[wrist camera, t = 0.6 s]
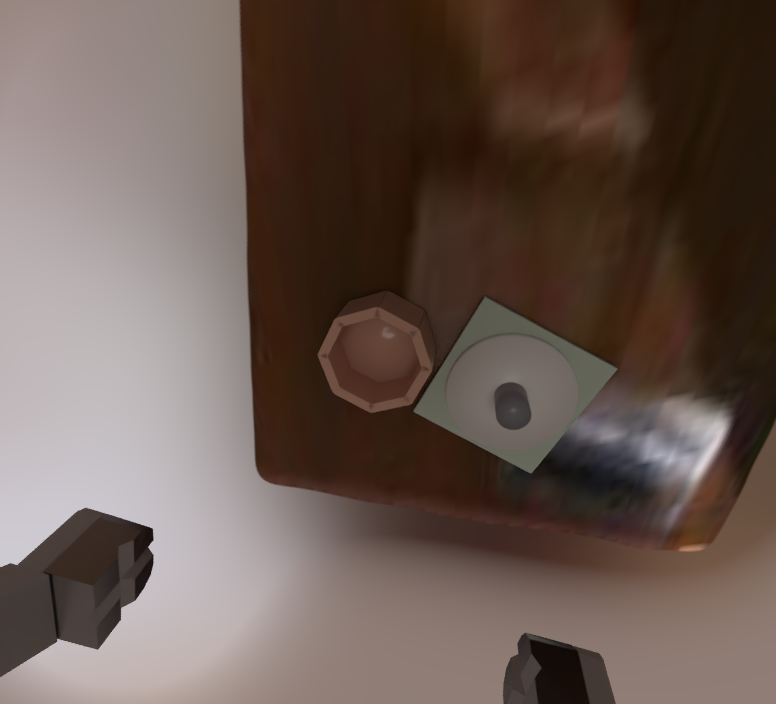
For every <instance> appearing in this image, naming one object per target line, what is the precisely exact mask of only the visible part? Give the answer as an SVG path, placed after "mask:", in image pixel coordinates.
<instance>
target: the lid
mask: <svg viewBox="0 0 776 704" xmlns="http://www.w3.org/2000/svg"><path fill="white" fill-rule="evenodd" d="M577 400H578V385H577V381H576V377H575V374H574V372H573V370H572V368H571V366H570V364H569V362H568V361H567V359H566V358H565V356H564V355H563V354H562V353H561V352H560V351H559V350H558V349H557V348H556V347H554V346H553V345H552V344H550V343H548V342H547V341H545V340H543V339H540V338H538V337H535V336H532V335H528V334H523V333H502V334H496V335H492V336H489V337H486V338H484V339H482V340H479V341H477V342H476V343H474V344H472V345H471V346H470V347H468V348H467V349H466V350H465V351H464V352H463V353H462V354H461V355H460V356H459V357H458V358H457V360H456V361H455V363H454V364H453V366H452V368H451V370H450V373H449V376H448V380H447V388H446V401H447V406H448V410H449V412H450V415H451V417H452V419H453V421H454V422H455V424H456V425H457V426H458V428H459V429H460V430H461V431H462V432H463V433H464V434H465V435H467V436H468V437H469V438H471V439H472V440H474V441H476V442H477V443H479V444H482V445H484V446H487V447H490V448H494V449H499V450H508V451H511V450H524V449H528V448H533V447H535V446H538V445H541V444H543V443H545V442H547V441H549V440H550V439H552V438H553V437H555V436H556V435H557V434H558V433H560V432H561V431H562V430H563V429H564V428H565V426H566V425H567V424H568V422H569V421H570V420H571V418H572V416H573V414H574V411H575V409H576V406H577Z"/></svg>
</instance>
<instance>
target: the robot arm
mask: <svg viewBox="0 0 776 704" xmlns="http://www.w3.org/2000/svg"><path fill="white" fill-rule="evenodd" d="M152 541H153V529H152V528H150V527H147V526H144V525H140V524H137V523H134V522H131V521H128V520H124V519H121V518H118V517H115V516H112V515H108V514H105V513H101V512H98V511H95V510H92V509H88V508H84V509H82V510H80V511H78V512H76V513H75V514H74V515H73V516H71V518H69V519H68V520H67V521H66V522H65V523H64V524H63V525H61V526H60V527H59V528H58V529H57V530H56V531H55V532H54V533H53V534H52V535H50V536H49V537H48V538H47V539H46V540H45V541H44V542H43V543H41V544H40V545H39V546H38V547H37V548H36V549H35V550H34V551H32V552H31V553H30V554H29V555H28V556H27V557H26V558H25V559H24V560H22V561H21V562H20V563H19V564H18V565H15V564H11V563H10V564H8V565H5V566H3V567H0V677H1V676H3V675H4V674H6V673H7V672H9V671H11V670H12V669H14V668H16V667H17V666H19V665H20V664H22V663H24V662H25V661H27V660H28V659H30V658H32V657H33V656H35V655H36V654H38V653H40V652H41V651H43V650H45V649H46V648H48V647H49V646H51V645H52V644H54V643H56V642H57V639H60V640H64V641H68V642H72V643H75V644H79V645H83V646H86V647H91V648H94V649H99V648H100V646H101V645H102V644H103V642H104V641H105V640H106V638H107V637H108V636H109V634H110V633H111V632H112V630H113V629H114V628H115V626H116V625H117V624H118V623H119V621H120V620H121V607H124V606H126V605H127V604H129V603H131V602H133V601H135V600H136V599H137V597H138V596H139V594H140V593H141V592H142V590H143V589H144V587H145V585H146V583H147V581H148V579H149V577H150V575H151V571H152V567H153V554H152V552H151V551H150V550H149V548H148V546H149V545H150V543H151V542H152ZM503 699H504V704H616V703H615V700H614V696H613V693H612V689H611V686H610V682H609V678H608V675H607V671H606V667H605V664H604V660H603V658H602V657H601V655H600V654H599V653H596V652H592V651H589V650H585V649H582V648H578V647H575V646H572V645H569V644H565V643H562V642H558V641H555V640H551V639H547V638H543V637H540V636H536V635H532V634H528V633H524V634H523V635H522V636H521V638H520V640H519V642H518V655H516V656H513V657H511V659H510V661H509V663H508V666H507V668H506V673H505V678H504V688H503Z"/></svg>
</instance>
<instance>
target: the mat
mask: <svg viewBox="0 0 776 704" xmlns="http://www.w3.org/2000/svg"><path fill="white" fill-rule="evenodd" d="M502 333H523V334H528V335H532V336H535V337H538V338H540V339H543V340H545V341H547V342H548V343H550V344H552V345H553V346H554V347H556V348H557V349H558V350H559V351H560V352H561V353H562V354H563V355H564V356H565V358H566V359H567V361H568V362H569V364H570V366H571V368H572V370H573V372H574V374H575V377H576V381H577V385H578V400H577V406H576V409H575V411H574V414H573V416H572V418H571V420H570V421H569V422H568V424H567V425H566V426H565V428H564V429H563V430H562V431H561V432H560V433H558V434H557V435H556V436H555V437H553V438H552V439H550V440H549V441H547V442H545V443H543V444H541V445H538V446H535V447H533V448H528V449H524V450H511V451H508V450H499V449H494V448H490V447H487V446H484V445H482V444H479V443H477V442H476V441H474V440H472V439H471V438H469V437H468V436H467V435H465V434H464V433H463V432H462V431H461V430H460V429H459V428H458V426H457V425H456V424H455V422H454V421H453V419H452V417H451V415H450V412H449V410H448V406H447V401H446V388H447V380H448V376H449V373H450V370H451V368H452V366H453V364H454V363H455V361H456V360H457V358H458V357H459V356H460V355H461V354H462V353H463V352H464V351H465V350H466V349H467V348H468V347H470V346H471V345H472V344H474V343H476V342H477V341H479V340H482V339H484V338H486V337H489V336H492V335H496V334H502ZM616 370H617V368H616V367H615V366H614V365H612V364H610V363H608V362H606V361H604V360H603V359H601V358H599V357H597V356H595V355H593V354H592V353H590V352H588V351H586V350H584V349H582V348H580V347H579V346H577V345H575V344H573V343H571V342H569V341H568V340H566V339H564V338H562V337H560V336H558V335H556V334H555V333H553V332H551V331H549V330H547V329H545V328H544V327H542V326H540V325H538V324H536V323H534V322H533V321H531V320H529V319H527V318H525V317H523V316H521V315H520V314H518V313H516V312H514V311H512V310H510V309H509V308H507V307H505V306H503V305H501V304H499V303H497V302H496V301H494V300H492V299H490V298H488V297H486V296H484V298H483V299H482V301H481V302H480V304H479V306H478V307H477V309H476V310H475V312H474V314H473V315H472V317H471V318H470V320H469V322H468V323H467V325H466V326H465V328H464V330H463V331H462V333H461V334H460V336H459V338H458V339H457V341H456V342H455V344H454V346H453V347H452V349H451V350H450V352H449V354H448V355H447V357H446V358H445V360H444V362H443V363H442V365H441V366H440V368H439V370H438V371H437V373H436V374H435V376H434V378H433V379H432V381H431V382H430V384H429V386H428V387H427V389H426V390H425V392H424V394H423V395H422V397H421V398H420V400H419V402H418V403H417V405H416V406H415V408H414V410H413V412H415V413H417V414H419V415H421V416H422V417H424V418H426V419H428V420H430V421H432V422H434V423H436V424H438V425H440V426H441V427H443V428H445V429H447V430H449V431H451V432H453V433H455V434H457V435H459V436H460V437H462V438H464V439H466V440H468V441H470V442H472V443H474V444H476V445H478V446H479V447H481V448H483V449H485V450H487V451H489V452H491V453H493V454H495V455H497V456H499V457H500V458H502V459H504V460H506V461H508V462H510V463H512V464H514V465H516V466H518V467H519V468H521V469H523V470H525V471H527V472H529V473H532V472H533V471H534V470H535V468H536V467H537V466H538V465H539V464H540V462H541V461H542V460H543V459H544V458H545V456H546V455H547V454H548V453H549V451H550V450H551V449H552V448H553V447H554V445H555V444H556V443H557V442H558V441H559V439H560V438H561V437H562V436H563V435H564V433H565V432H566V431H567V430H568V428H569V427H570V426H571V425H572V424H573V422H574V421H575V420H576V419H577V418H578V416H579V415H580V414H581V413H582V412H583V410H584V409H585V408H586V407H587V405H588V404H589V403H590V402H591V401H592V399H593V398H594V397H595V396H596V395H597V393H598V392H599V391H600V390H601V389H602V387H603V386H604V385H605V384H606V382H607V381H608V380H609V379H610V378H611V376H612V375H613V374H614V373H615V372H616Z"/></svg>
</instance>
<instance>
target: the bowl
mask: <svg viewBox="0 0 776 704" xmlns="http://www.w3.org/2000/svg"><path fill="white" fill-rule="evenodd" d="M435 352H436V344H435V341H434V338H433V335H432V332H431V328H430V325H429V322H428V319H427V315H426V312H425V311H424V309H422V308H420V307H418V306H416V305H415V304H413V303H411V302H409V301H407V300H405V299H403V298H402V297H400V296H398V295H396V294H394V293H392V292H390V291H389V290H388V292H387V290H386V291H383V292H379V293H376V294H372V295H369V296H365V297H362V298H358V299H354V300H351V301H349V302H348V303H347V305H346V306H345V307H344V308H343V309H342V311H341V312H340V313H339V314H338V316H337V317H336V318H335V319H334V322H333V324H332V326H331V328H330V330H329V332H328V334H327V336H326V338H325V340H324V342H323V344H322V346H321V349H320V351H319V353H318V357H319V360H320V362H321V365H322V367H323V370H324V372H325V375H326V377H327V380H328V382H329V385H330V387H331V390H332V392H334V394H336V395H337V396H339V397H341V398H343V399H345V400H347V401H349V402H351V403H353V404H355V405H357V406H358V407H360V408H362V409H364V410H366V411H368V412H371V413H373V412H378V411H382V410H387V409H392V408H397V407H401V406H406V405H411V404H412V403H413V401H414V399H415V398H416V396H417V395H418V393H419V391H420V390H421V388H422V386H423V385H424V383H425V382H426V380H427V378H428V377H429V375H430V374H431V372H432V369H433V363H434V357H435Z"/></svg>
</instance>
